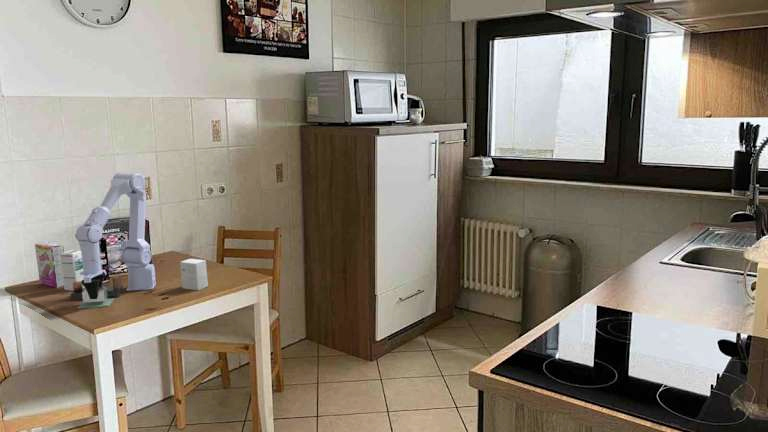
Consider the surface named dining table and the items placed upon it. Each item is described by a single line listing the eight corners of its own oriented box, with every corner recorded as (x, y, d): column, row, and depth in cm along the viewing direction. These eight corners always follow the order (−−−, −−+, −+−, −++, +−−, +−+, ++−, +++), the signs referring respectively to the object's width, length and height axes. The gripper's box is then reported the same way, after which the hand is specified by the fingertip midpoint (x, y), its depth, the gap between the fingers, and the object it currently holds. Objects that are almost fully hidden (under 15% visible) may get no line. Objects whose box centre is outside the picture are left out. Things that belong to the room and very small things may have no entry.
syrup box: (77, 291, 220) (73, 253, 217) (63, 290, 221) (59, 253, 219) (87, 286, 225) (83, 250, 223) (74, 285, 227) (70, 249, 224)
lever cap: (107, 297, 207) (106, 286, 206) (104, 300, 203) (103, 289, 202) (86, 298, 206) (85, 287, 205) (83, 302, 202) (81, 290, 201)
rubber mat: (114, 299, 209) (114, 298, 209) (108, 306, 202) (108, 305, 202) (84, 301, 207) (84, 300, 207) (77, 308, 200) (77, 307, 200)
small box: (208, 286, 223) (206, 260, 221) (198, 290, 218) (196, 263, 216) (192, 284, 226) (190, 258, 225) (181, 288, 221) (179, 261, 220)
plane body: (123, 291, 219) (121, 273, 217) (118, 297, 212) (117, 278, 211) (77, 294, 216) (75, 276, 214) (71, 300, 209) (69, 281, 208)
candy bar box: (39, 284, 229) (33, 244, 226) (51, 281, 233) (46, 241, 230) (56, 288, 223) (51, 247, 220) (68, 285, 228) (64, 244, 225)
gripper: (85, 255, 208) (89, 291, 210) (72, 265, 194) (76, 304, 196) (106, 253, 209) (110, 290, 212) (95, 264, 195) (99, 302, 198)
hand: (95, 296), depth 204 cm, fingers closed on lever cap, 4 cm apart
